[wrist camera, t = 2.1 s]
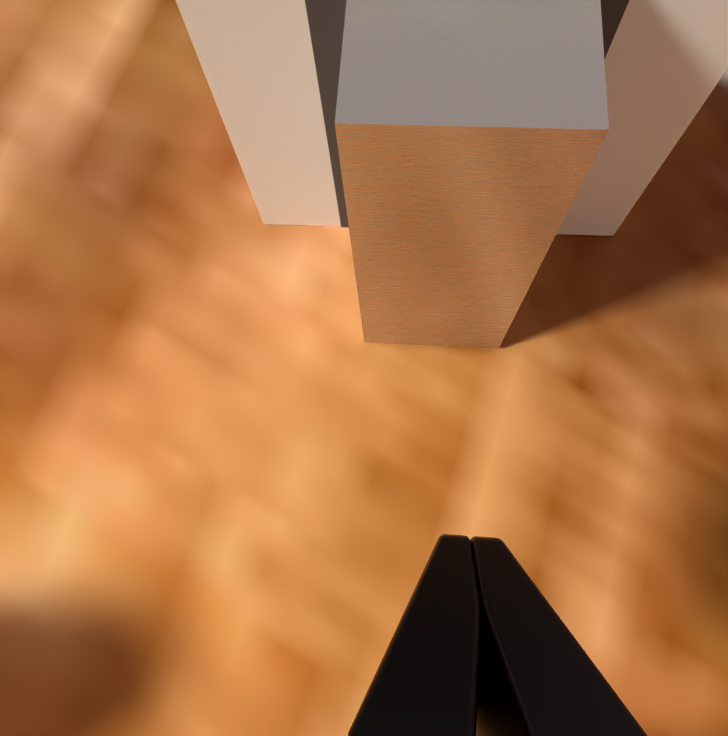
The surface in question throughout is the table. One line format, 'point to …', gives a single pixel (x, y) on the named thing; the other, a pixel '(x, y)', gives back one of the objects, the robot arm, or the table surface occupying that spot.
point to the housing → (320, 88)
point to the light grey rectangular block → (462, 155)
